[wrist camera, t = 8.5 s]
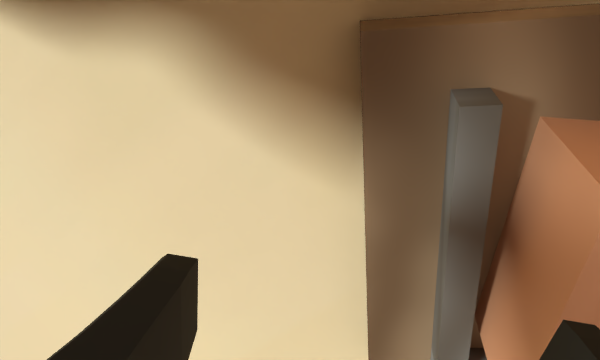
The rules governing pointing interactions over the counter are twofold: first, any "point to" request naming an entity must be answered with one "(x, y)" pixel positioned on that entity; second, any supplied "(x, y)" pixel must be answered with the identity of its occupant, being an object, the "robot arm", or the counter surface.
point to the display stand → (456, 157)
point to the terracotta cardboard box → (546, 245)
